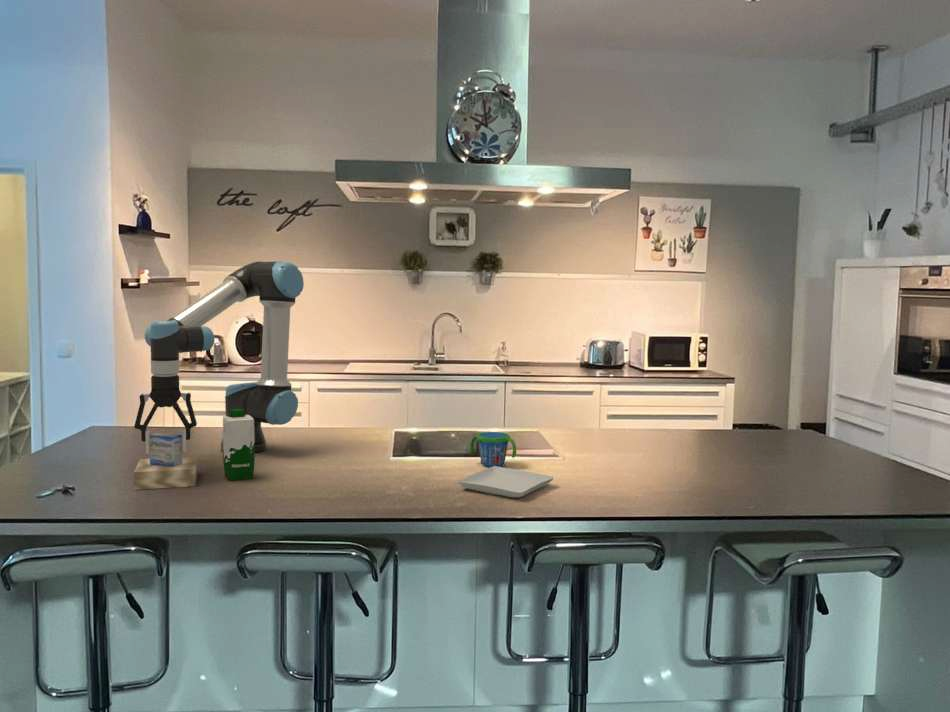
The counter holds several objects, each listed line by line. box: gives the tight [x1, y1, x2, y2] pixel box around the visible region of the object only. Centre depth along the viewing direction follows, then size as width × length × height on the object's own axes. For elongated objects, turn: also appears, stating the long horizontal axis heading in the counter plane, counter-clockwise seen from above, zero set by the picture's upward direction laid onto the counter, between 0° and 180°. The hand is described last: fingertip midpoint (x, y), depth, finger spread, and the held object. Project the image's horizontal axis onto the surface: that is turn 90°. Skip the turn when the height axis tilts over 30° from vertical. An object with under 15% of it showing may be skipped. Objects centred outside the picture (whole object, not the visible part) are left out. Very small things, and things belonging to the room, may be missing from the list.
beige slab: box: [133, 456, 198, 491], centre depth 226 cm, size 16×16×5 cm
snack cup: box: [469, 431, 517, 468], centre depth 253 cm, size 16×10×10 cm
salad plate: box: [457, 466, 554, 499], centre depth 226 cm, size 21×21×3 cm
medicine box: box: [149, 432, 183, 466], centre depth 226 cm, size 8×4×9 cm, turn 79°
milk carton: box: [222, 409, 256, 481], centre depth 232 cm, size 9×9×20 cm
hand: (166, 451), depth 226 cm, fingers open, 9 cm apart
